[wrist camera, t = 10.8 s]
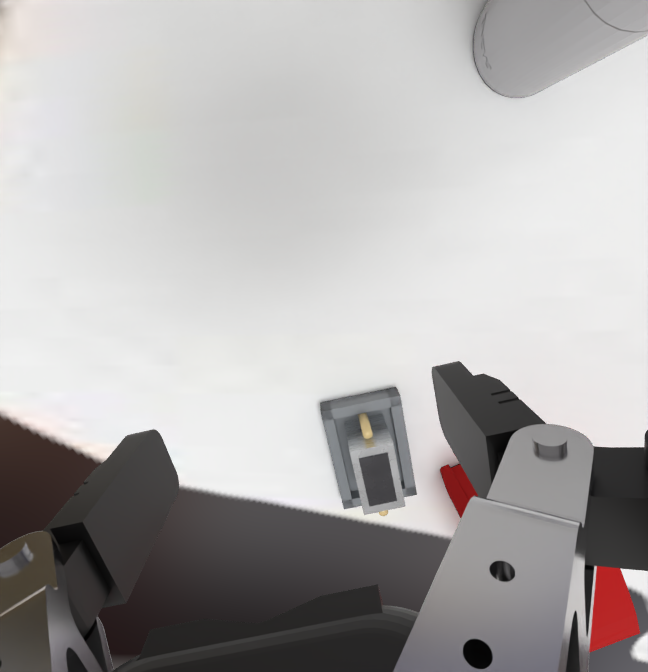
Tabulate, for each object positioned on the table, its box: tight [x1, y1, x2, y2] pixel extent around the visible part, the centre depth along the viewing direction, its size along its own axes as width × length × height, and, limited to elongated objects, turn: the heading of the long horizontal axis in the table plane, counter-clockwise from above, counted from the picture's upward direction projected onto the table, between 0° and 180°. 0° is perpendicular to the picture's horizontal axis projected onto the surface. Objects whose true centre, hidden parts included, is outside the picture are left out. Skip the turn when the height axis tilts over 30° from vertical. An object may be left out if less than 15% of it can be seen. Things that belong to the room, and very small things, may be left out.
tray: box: [320, 387, 417, 516], centre depth 45 cm, size 9×13×6 cm, turn 12°
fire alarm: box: [440, 464, 640, 652], centre depth 44 cm, size 16×11×15 cm
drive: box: [344, 414, 405, 515], centre depth 44 cm, size 4×8×6 cm, turn 12°
